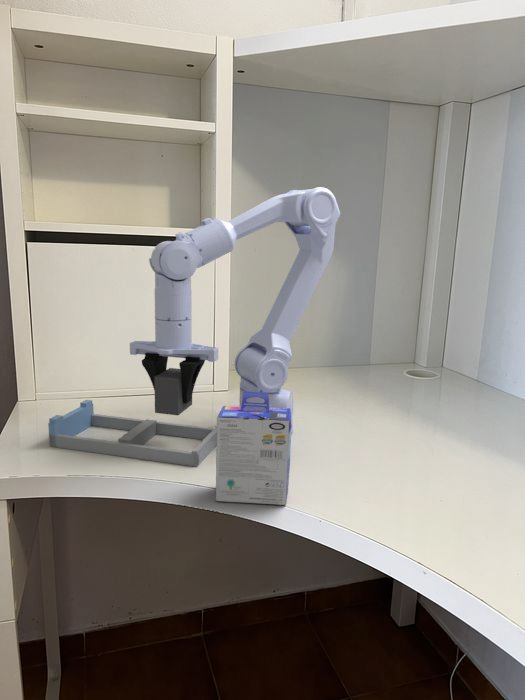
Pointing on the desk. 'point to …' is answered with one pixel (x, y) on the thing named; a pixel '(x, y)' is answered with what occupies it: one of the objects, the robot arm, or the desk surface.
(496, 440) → the desk surface
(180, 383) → the dark grey block
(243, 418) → the ink cartridge box
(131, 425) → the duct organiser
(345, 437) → the desk surface
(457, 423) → the desk surface
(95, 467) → the desk surface
